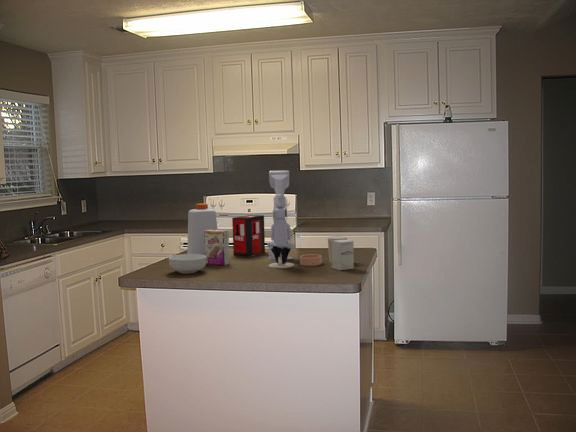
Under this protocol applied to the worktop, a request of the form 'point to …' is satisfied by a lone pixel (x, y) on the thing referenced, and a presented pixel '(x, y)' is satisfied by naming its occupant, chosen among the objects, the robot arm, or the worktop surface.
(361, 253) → the worktop surface
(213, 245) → the candy bar box
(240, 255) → the cleaning product box
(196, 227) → the plastic bottle
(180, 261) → the cereal bowl
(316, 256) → the ramekin
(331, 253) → the coffee cup
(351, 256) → the supplement box
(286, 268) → the mat
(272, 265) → the lid
